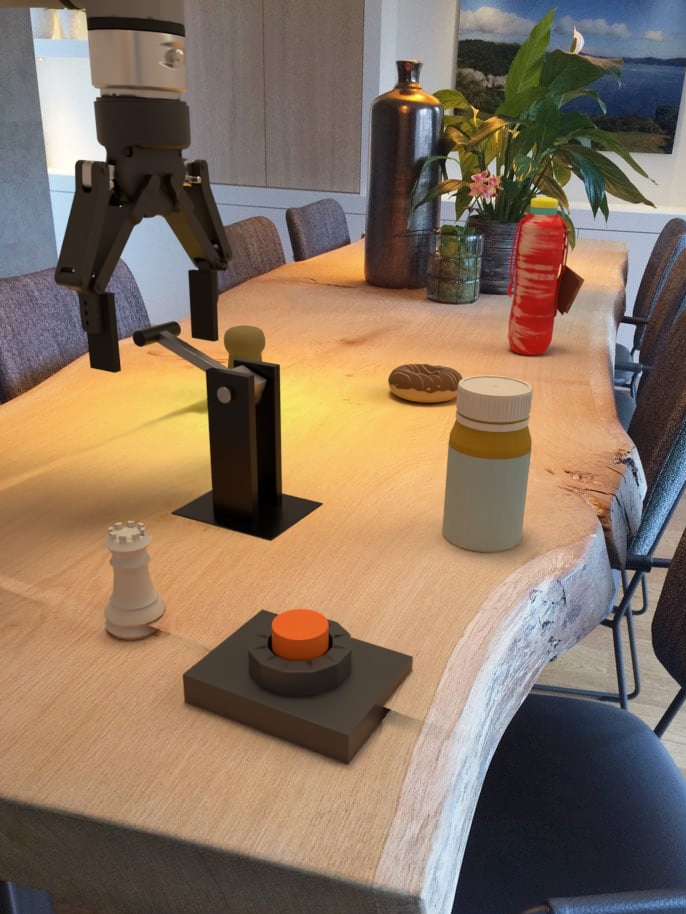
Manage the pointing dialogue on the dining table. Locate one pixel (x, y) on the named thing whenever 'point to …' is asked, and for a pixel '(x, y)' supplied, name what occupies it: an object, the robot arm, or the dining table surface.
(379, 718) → the control block
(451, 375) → the donut
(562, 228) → the water bottle
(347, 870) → the dining table surface
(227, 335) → the cork
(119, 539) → the rook chess piece
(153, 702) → the dining table surface
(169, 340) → the lever
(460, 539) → the bottle
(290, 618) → the button
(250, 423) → the bracket
